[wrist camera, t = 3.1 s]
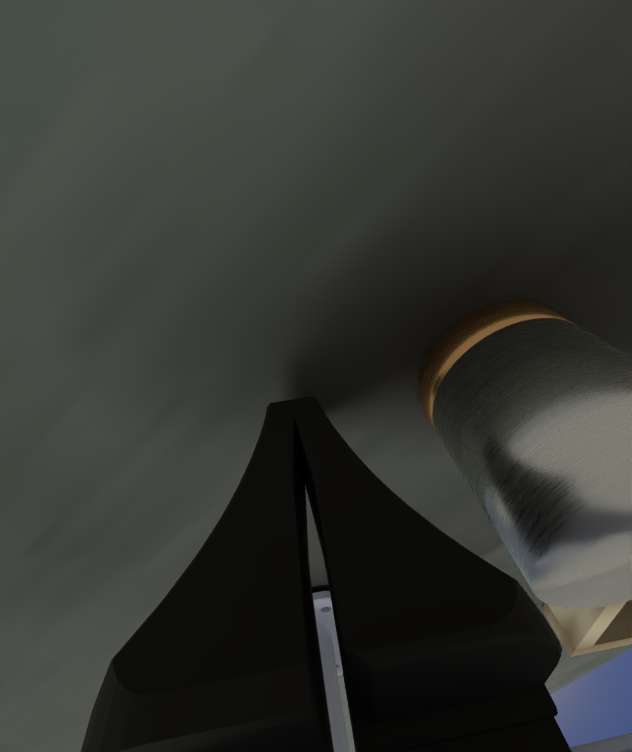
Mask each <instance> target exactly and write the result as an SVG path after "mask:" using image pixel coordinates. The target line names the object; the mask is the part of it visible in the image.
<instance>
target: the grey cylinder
mask: <svg viewBox="0 0 632 752" xmlns="http://www.w3.org/2000/svg"><path fill="white" fill-rule="evenodd" d="M418 398H419V402H420V405H421V408H422V409H423V411H424V413H425V415H426V416H427V418H428V419H429V421H430V423H431V424H432V426H433V428H434V429H435V431H436V433H437V434H438V436H439V438H440V439H441V441H442V443H443V444H444V446H445V447H446V449H447V451H448V452H449V454H450V456H451V457H452V459H453V461H454V462H455V464H456V466H457V467H458V469H459V471H460V472H461V474H462V476H463V477H464V479H465V480H466V482H467V484H468V485H469V487H470V489H471V490H472V492H473V494H474V495H475V497H476V499H477V500H478V502H479V504H480V505H481V507H482V509H483V510H484V512H485V513H486V515H487V517H488V518H489V520H490V522H491V523H492V525H493V527H494V528H495V530H496V532H497V533H498V535H499V537H500V538H501V540H502V542H503V543H504V545H505V546H506V548H507V550H508V551H509V553H510V555H511V556H512V558H513V560H514V561H515V563H516V565H517V566H518V568H519V570H520V571H521V573H522V575H523V576H524V578H525V579H526V581H527V583H528V584H529V586H530V588H531V589H532V591H533V593H534V594H535V596H536V597H537V598H538V599H540V600H541V601H543V602H544V603H546V604H549V605H552V606H555V607H560V608H569V609H584V608H595V607H602V606H608V605H613V604H618V603H622V602H626V601H630V600H632V358H631V357H629V356H628V355H626V354H624V353H623V352H621V351H619V350H618V349H616V348H614V347H613V346H611V345H609V344H608V343H606V342H604V341H603V340H601V339H599V338H598V337H596V336H594V335H593V334H591V333H589V332H588V331H586V330H584V329H583V328H581V327H579V326H578V325H576V324H574V323H573V322H571V321H569V320H568V319H566V318H564V317H563V316H561V315H559V314H557V313H556V312H554V311H552V310H551V309H549V308H547V307H546V306H543V305H541V304H538V303H534V302H529V301H508V302H503V303H498V304H494V305H491V306H488V307H485V308H483V309H481V310H478V311H476V312H474V313H472V314H471V315H469V316H467V317H465V318H464V319H462V320H461V321H460V322H458V323H457V324H455V325H454V326H453V327H452V328H451V329H449V330H448V331H447V332H446V333H445V334H444V335H443V336H442V337H441V338H440V339H439V340H438V342H437V343H436V344H435V346H434V347H433V348H432V350H431V351H430V353H429V354H428V356H427V358H426V360H425V362H424V364H423V366H422V369H421V372H420V375H419V381H418Z"/></svg>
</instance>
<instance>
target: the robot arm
mask: <svg viewBox="0 0 632 752" xmlns="http://www.w3.org/2000/svg"><path fill="white" fill-rule="evenodd" d="M305 485H306V489H307V493H308V497H309V501H310V505H311V509H312V513H313V517H314V521H315V525H316V529H317V533H318V537H319V541H320V545H321V549H322V553H323V557H324V562H325V567H326V572H327V578H328V584H329V590H330V591H320V592H315V593H312V586H311V579H310V569H309V557H308V535H307V514H306V493H305ZM561 652H562V648H561V645H560V642H559V641H558V639H557V637H556V635H555V634H554V632H553V630H552V629H551V627H550V625H549V624H548V622H547V621H546V619H545V617H544V616H543V615H542V613H541V612H540V611H539V609H538V608H537V606H536V605H535V604H534V602H533V601H532V600H531V598H530V597H529V596H528V594H527V593H526V592H525V590H524V589H523V588H522V587H521V585H520V584H519V583H518V581H517V580H515V579H514V578H512V577H510V576H509V575H507V574H505V573H504V572H502V571H501V570H499V569H497V568H496V567H494V566H492V565H491V564H489V563H488V562H486V561H485V560H483V559H481V558H480V557H478V556H477V555H475V554H474V553H472V552H471V551H469V550H468V549H466V548H465V547H463V546H462V545H460V544H459V543H458V542H456V541H455V540H453V539H452V538H450V537H449V536H447V535H446V534H445V533H443V532H442V531H441V530H439V529H438V528H437V527H435V526H434V525H433V524H431V523H430V522H429V521H428V520H426V519H425V518H424V517H422V516H421V515H420V514H419V513H417V512H416V511H415V510H413V509H412V508H411V507H410V506H408V505H407V504H406V503H405V502H404V501H403V500H401V499H400V498H399V497H398V496H397V495H396V494H395V493H393V492H392V491H391V490H390V489H389V488H388V487H387V486H386V485H385V484H384V483H383V482H382V481H381V480H380V479H378V478H377V477H376V476H375V475H374V474H373V472H372V471H371V470H370V469H369V468H368V467H367V466H366V465H365V464H364V463H363V462H362V461H361V460H360V459H359V457H358V456H357V455H356V454H355V453H354V452H353V451H352V449H351V448H350V447H349V446H348V445H347V443H346V442H345V441H344V439H343V438H342V437H341V436H340V434H339V433H338V432H337V430H336V429H335V428H334V426H333V425H332V423H331V422H330V420H329V419H328V417H327V416H326V414H325V413H324V411H323V409H322V408H321V406H320V404H319V402H318V399H317V398H315V397H314V396H312V397H306V398H300V399H293V400H287V401H281V402H274V403H270V404H269V406H268V407H267V412H266V416H265V420H264V424H263V427H262V430H261V433H260V437H259V439H258V442H257V444H256V447H255V450H254V452H253V455H252V457H251V460H250V462H249V464H248V466H247V469H246V471H245V473H244V475H243V477H242V479H241V481H240V484H239V486H238V488H237V490H236V492H235V493H234V495H233V497H232V499H231V501H230V503H229V505H228V506H227V508H226V510H225V511H224V513H223V515H222V517H221V518H220V520H219V522H218V523H217V525H216V526H215V528H214V529H213V531H212V533H211V534H210V536H209V537H208V539H207V540H206V542H205V543H204V545H203V546H202V548H201V549H200V551H199V552H198V554H197V555H196V557H195V558H194V559H193V561H192V562H191V563H190V565H189V566H188V567H187V569H186V570H185V571H184V573H183V574H182V575H181V577H180V578H179V579H178V581H177V582H176V583H175V585H174V586H173V587H172V589H171V590H170V591H169V593H168V594H167V595H166V597H165V598H164V599H163V600H162V602H161V603H160V604H159V605H158V606H157V608H156V609H155V610H154V611H153V612H152V614H151V615H150V616H149V617H148V618H147V619H146V621H145V622H144V623H143V624H142V625H141V626H140V628H139V629H138V630H137V631H136V632H135V633H134V635H133V636H132V637H131V638H130V639H129V640H128V642H127V643H126V644H125V645H124V646H123V647H122V649H121V650H120V651H119V652H118V653H117V654H116V655H115V656H114V658H113V659H112V660H111V663H110V665H109V668H108V670H107V673H106V675H105V678H104V681H103V683H102V686H101V688H100V691H99V694H98V696H97V699H96V702H95V704H94V707H93V710H92V713H91V717H90V721H89V724H88V728H87V731H86V735H85V739H84V742H83V746H82V749H81V752H350V751H349V744H348V738H347V731H346V725H345V718H344V712H343V705H342V699H341V692H340V686H339V679H338V676H339V675H341V674H342V673H343V676H344V683H345V689H346V695H347V701H348V707H349V714H350V720H351V726H352V732H353V739H354V745H355V751H356V752H632V733H631V734H627V735H622V736H618V737H613V738H609V739H605V740H601V741H596V742H592V743H587V744H583V745H579V746H574V747H570V748H569V746H568V744H567V742H566V740H565V738H564V736H563V734H562V732H561V730H560V728H559V726H558V724H557V722H556V720H555V719H554V716H556V715H557V714H558V712H557V708H556V706H555V704H554V702H553V700H552V698H551V696H550V694H549V692H548V690H547V688H546V687H545V685H544V683H545V682H546V680H547V679H548V677H549V676H550V674H551V673H552V672H553V670H554V669H555V667H556V666H557V664H558V662H559V659H560V657H561Z"/></svg>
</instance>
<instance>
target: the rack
mask: <svg viewBox="0 0 632 752" xmlns="http://www.w3.org/2000/svg"><path fill="white" fill-rule="evenodd" d="M542 611H543V613H544V614H545V616H546V618H547V619H548V621H549V623H550V624H551V626H552V628H553V629H554V631H555V633H556V634H557V636H558V638H559V639H560V641H561V643H562V644H563V646H564V648H565V649H566V651H567V652H568V654H569V656H570V657H573V656H577V655H582V654H587V653H592V652H596V651H601V650H606V649H610V648H615V647H620V646H625V645H629V644H632V600H630V601H626V602H622V603H618V604H613V605H608V606H602V607H595V608H584V609H569V608H560V607H555V606H552V605H549V604H546V603H545V604H544V605H543V607H542Z"/></svg>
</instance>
